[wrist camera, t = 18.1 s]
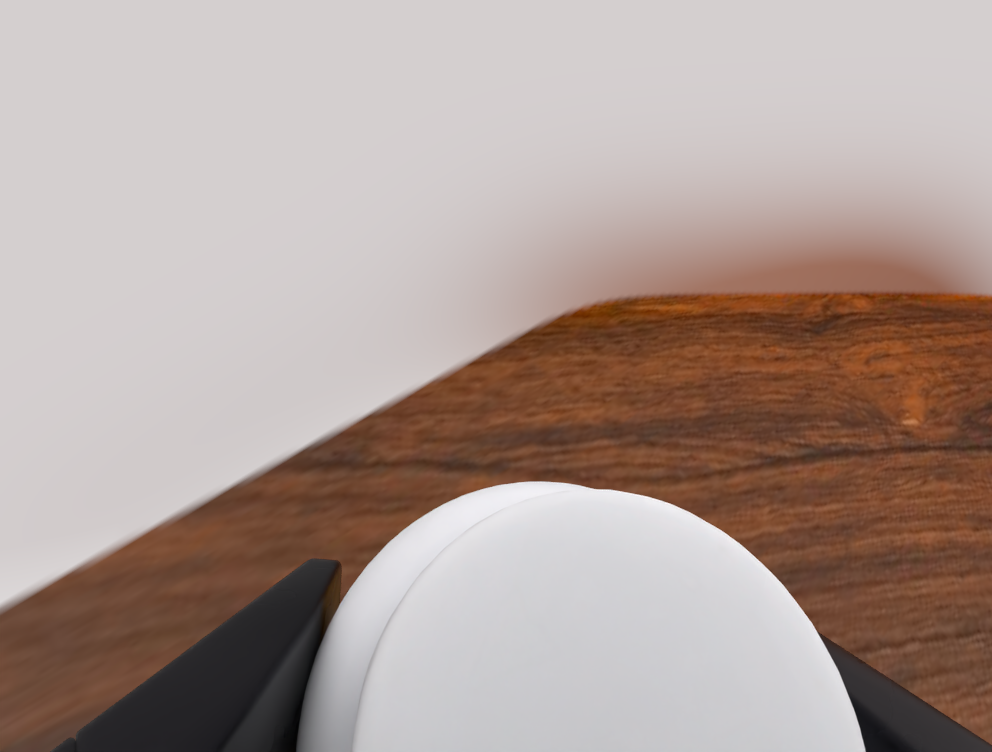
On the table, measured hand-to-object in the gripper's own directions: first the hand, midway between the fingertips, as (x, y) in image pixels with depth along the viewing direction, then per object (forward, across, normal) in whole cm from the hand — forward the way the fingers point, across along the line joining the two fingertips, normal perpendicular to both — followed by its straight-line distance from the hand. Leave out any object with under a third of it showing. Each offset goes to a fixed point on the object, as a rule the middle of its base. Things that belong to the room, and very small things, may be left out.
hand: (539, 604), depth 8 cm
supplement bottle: (+4, 0, +6) cm, 7 cm away
